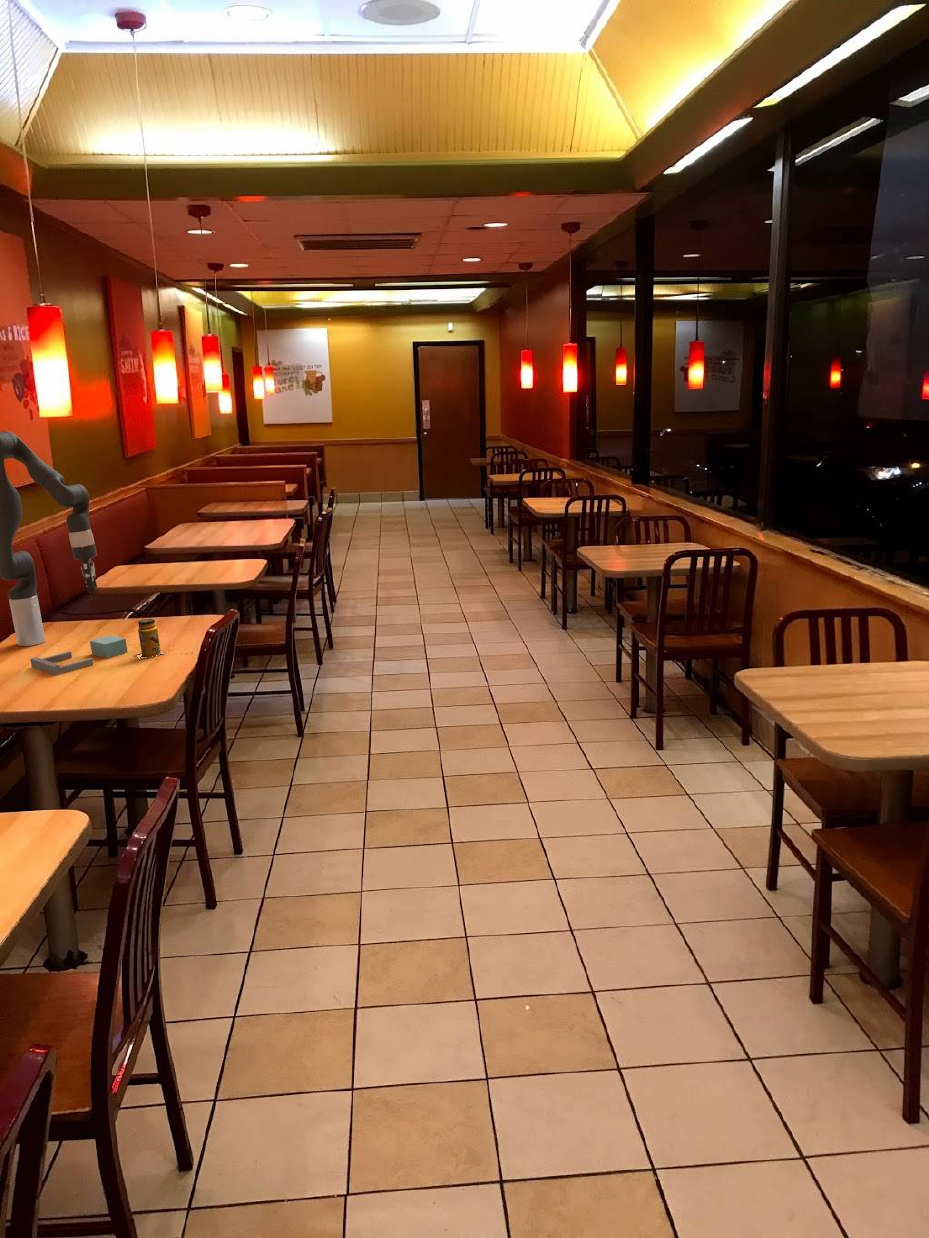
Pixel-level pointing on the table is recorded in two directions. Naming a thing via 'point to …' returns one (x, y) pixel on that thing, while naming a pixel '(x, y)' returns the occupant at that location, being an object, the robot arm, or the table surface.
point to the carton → (108, 646)
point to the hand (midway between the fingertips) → (93, 590)
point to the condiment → (148, 638)
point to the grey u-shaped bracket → (54, 669)
